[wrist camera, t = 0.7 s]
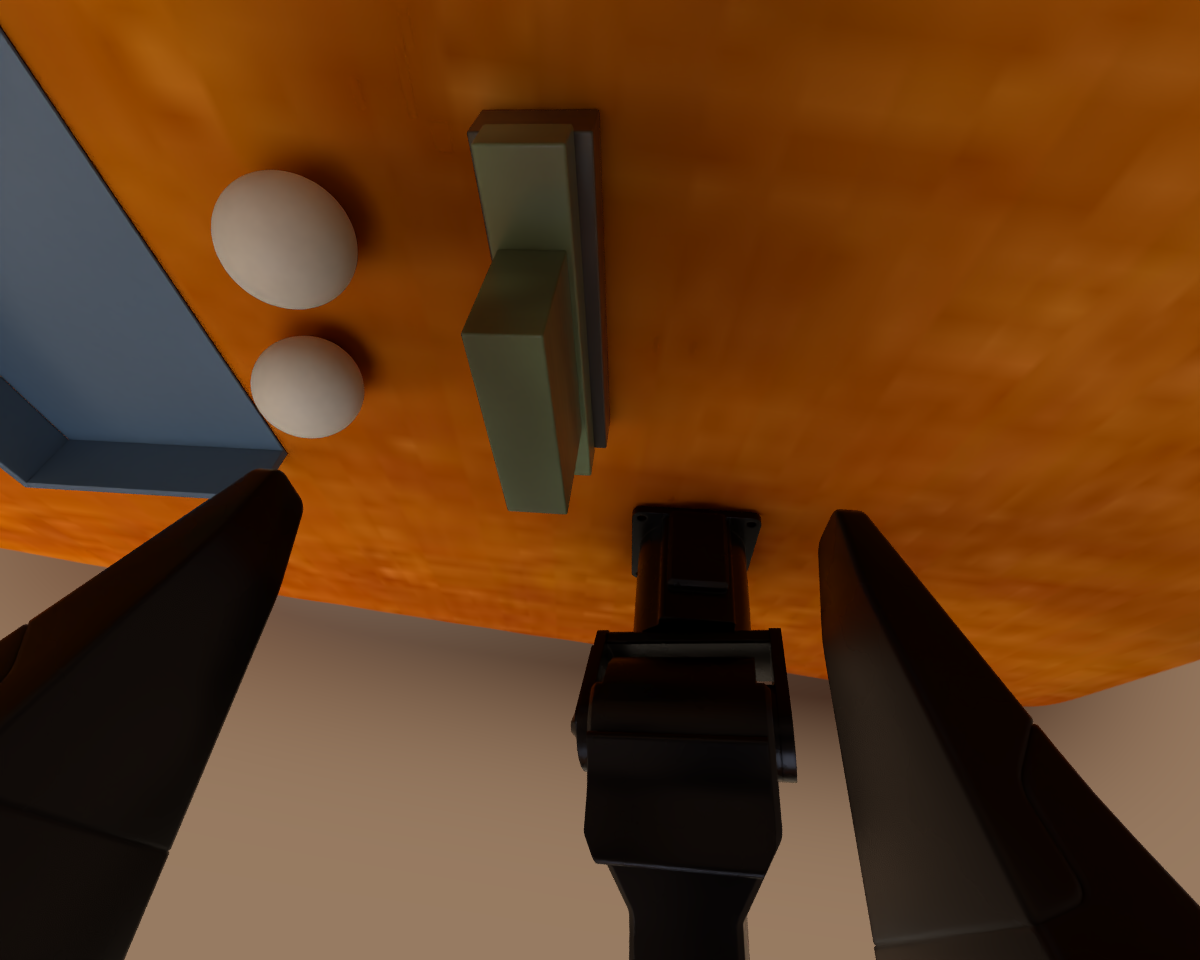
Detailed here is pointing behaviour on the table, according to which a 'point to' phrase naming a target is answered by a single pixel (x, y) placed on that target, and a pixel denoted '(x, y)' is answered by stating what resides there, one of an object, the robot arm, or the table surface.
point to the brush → (540, 301)
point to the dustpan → (101, 333)
